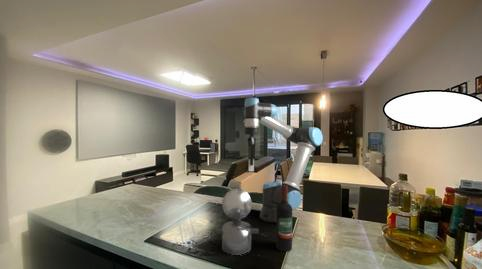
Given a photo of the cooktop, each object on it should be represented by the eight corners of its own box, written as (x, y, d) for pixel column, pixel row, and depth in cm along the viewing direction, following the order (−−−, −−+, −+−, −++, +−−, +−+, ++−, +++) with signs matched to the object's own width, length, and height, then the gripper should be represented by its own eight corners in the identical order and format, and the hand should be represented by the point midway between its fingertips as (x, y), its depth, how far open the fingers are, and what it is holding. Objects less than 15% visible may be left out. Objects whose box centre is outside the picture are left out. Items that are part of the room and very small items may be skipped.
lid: (221, 221, 109) (221, 220, 111) (251, 221, 109) (251, 220, 111) (222, 188, 112) (222, 188, 114) (251, 188, 113) (251, 188, 115)
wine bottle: (289, 243, 106) (290, 183, 106) (293, 251, 98) (294, 187, 98) (274, 243, 105) (275, 183, 105) (277, 251, 98) (278, 187, 98)
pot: (216, 239, 108) (216, 220, 108) (257, 240, 109) (257, 220, 109) (212, 255, 94) (213, 233, 94) (260, 255, 95) (260, 233, 95)
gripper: (243, 127, 118) (243, 169, 119) (245, 126, 105) (245, 173, 106) (256, 127, 119) (256, 168, 119) (260, 126, 106) (260, 173, 106)
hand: (251, 171), depth 112 cm, fingers closed
